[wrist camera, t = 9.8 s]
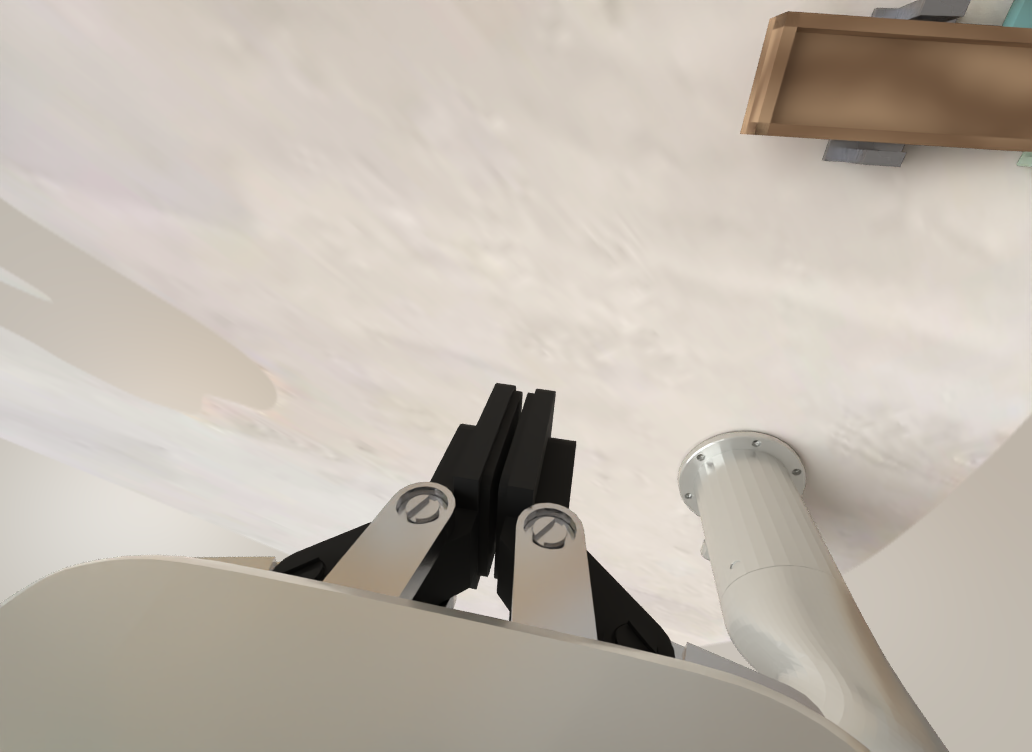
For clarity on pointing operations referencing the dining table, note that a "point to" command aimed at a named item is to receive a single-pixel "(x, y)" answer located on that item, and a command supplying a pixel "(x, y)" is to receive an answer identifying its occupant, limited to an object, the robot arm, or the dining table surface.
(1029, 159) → the tray
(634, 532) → the dining table surface
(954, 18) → the fulcrum
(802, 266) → the dining table surface
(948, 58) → the lever
